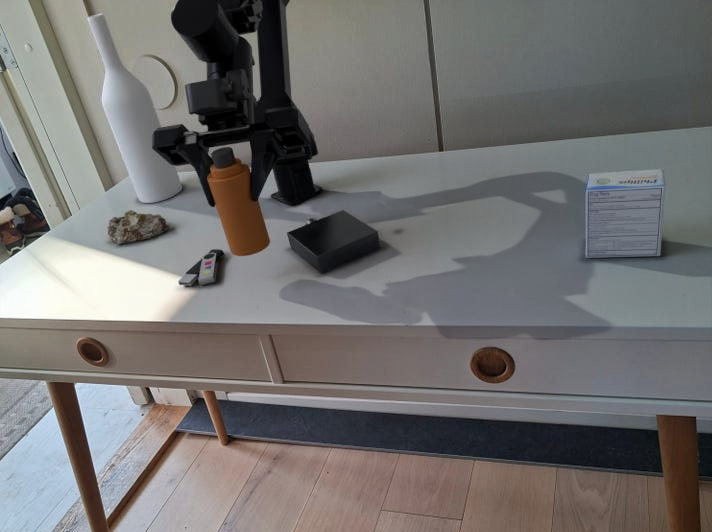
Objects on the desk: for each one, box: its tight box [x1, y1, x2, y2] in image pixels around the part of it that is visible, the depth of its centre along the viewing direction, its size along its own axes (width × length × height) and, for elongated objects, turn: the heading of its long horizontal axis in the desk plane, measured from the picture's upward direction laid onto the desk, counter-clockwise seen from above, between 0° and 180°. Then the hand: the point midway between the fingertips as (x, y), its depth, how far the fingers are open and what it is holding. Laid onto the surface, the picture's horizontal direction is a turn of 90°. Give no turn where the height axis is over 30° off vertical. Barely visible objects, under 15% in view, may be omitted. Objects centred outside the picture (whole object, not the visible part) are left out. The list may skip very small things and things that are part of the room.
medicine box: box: [585, 168, 666, 259], centre depth 78 cm, size 8×4×9 cm, turn 71°
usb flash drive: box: [178, 248, 225, 287], centre depth 97 cm, size 9×5×1 cm, turn 155°
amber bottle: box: [207, 146, 271, 257], centre depth 86 cm, size 5×5×13 cm
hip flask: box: [286, 209, 382, 275], centre depth 96 cm, size 12×9×3 cm
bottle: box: [87, 13, 183, 204], centre depth 119 cm, size 8×8×30 cm
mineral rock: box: [107, 209, 169, 246], centre depth 113 cm, size 11×4×8 cm
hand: (232, 203), depth 85 cm, fingers closed on amber bottle, 5 cm apart
